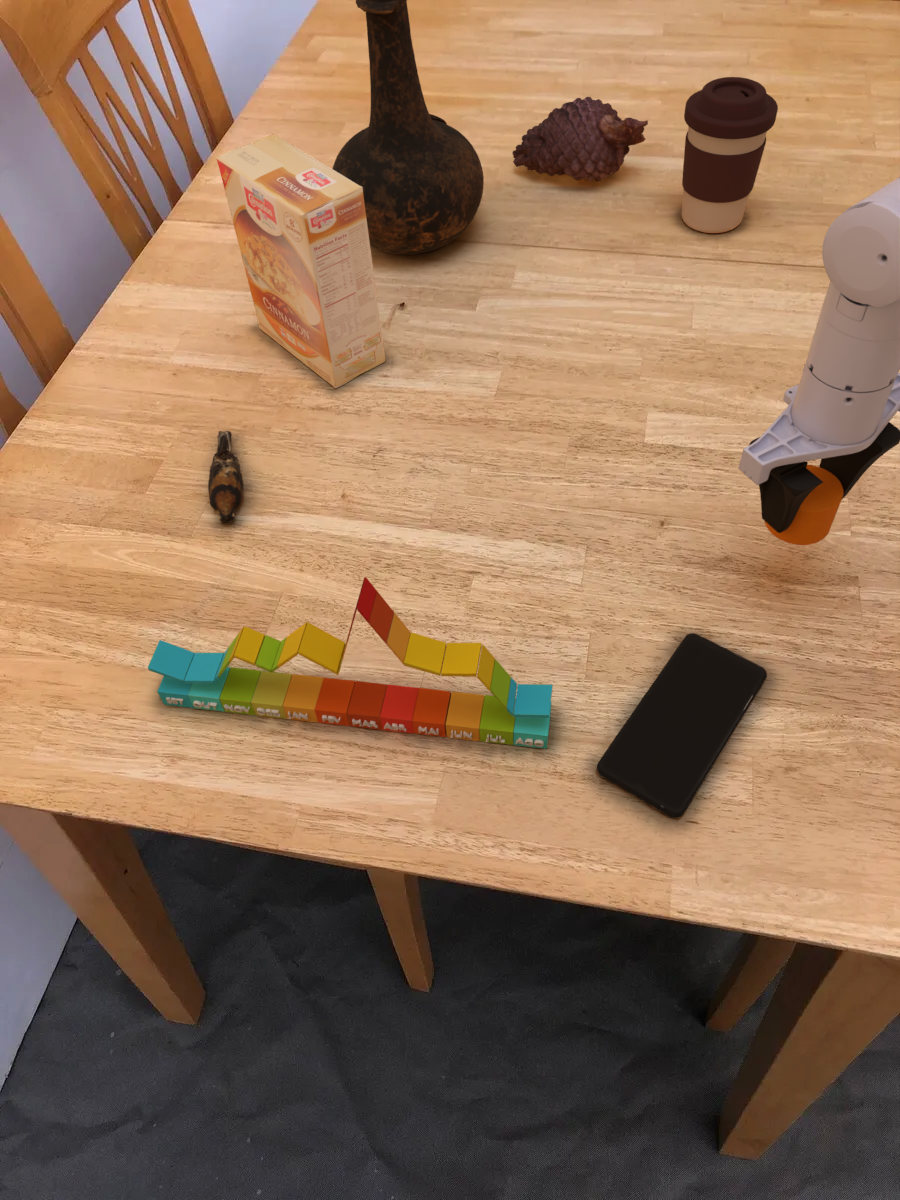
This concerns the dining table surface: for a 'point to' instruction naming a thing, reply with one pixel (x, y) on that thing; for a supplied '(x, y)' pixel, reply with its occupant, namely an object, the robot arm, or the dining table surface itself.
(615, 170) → the pine cone
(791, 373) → the dining table surface
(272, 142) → the coffeecake box
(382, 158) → the dark brown vase
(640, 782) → the smartphone
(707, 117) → the coffee cup
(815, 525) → the mandarin
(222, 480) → the bird model
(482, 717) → the chart
